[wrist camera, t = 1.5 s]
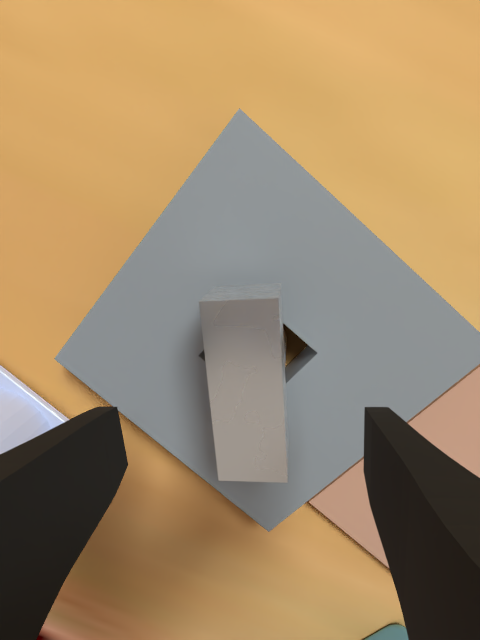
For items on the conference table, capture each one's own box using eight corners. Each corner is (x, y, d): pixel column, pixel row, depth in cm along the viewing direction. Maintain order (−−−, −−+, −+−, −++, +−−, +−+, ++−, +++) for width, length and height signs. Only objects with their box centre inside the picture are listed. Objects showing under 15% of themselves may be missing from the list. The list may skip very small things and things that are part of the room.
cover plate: (271, 503, 22) (268, 531, 20) (76, 344, 20) (54, 358, 18) (475, 333, 17) (497, 349, 16) (245, 119, 16) (239, 108, 14)
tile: (410, 578, 22) (413, 588, 21) (308, 494, 21) (308, 501, 21) (606, 455, 18) (616, 463, 18) (490, 347, 18) (497, 352, 17)
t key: (289, 402, 20) (287, 482, 14) (240, 402, 20) (218, 480, 14) (283, 267, 18) (278, 298, 12) (228, 270, 18) (198, 301, 12)
